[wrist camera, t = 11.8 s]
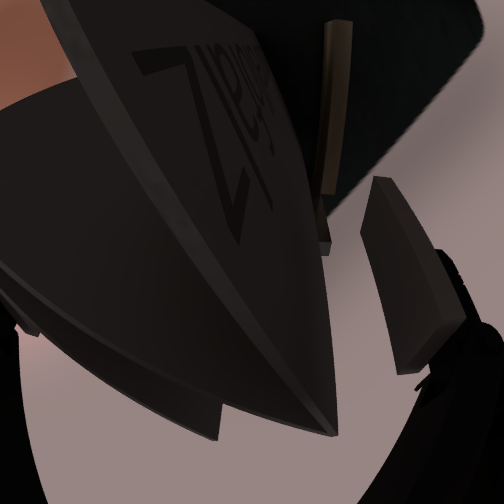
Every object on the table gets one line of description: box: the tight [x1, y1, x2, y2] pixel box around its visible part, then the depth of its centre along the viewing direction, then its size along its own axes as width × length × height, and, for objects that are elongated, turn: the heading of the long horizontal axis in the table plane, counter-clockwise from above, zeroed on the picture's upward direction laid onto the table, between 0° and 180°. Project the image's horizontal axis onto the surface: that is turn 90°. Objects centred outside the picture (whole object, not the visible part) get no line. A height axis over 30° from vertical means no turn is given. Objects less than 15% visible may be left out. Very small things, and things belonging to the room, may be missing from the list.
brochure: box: [0, 0, 338, 441], centre depth 17 cm, size 14×6×30 cm, turn 22°
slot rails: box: [315, 19, 353, 195], centre depth 26 cm, size 17×18×6 cm
